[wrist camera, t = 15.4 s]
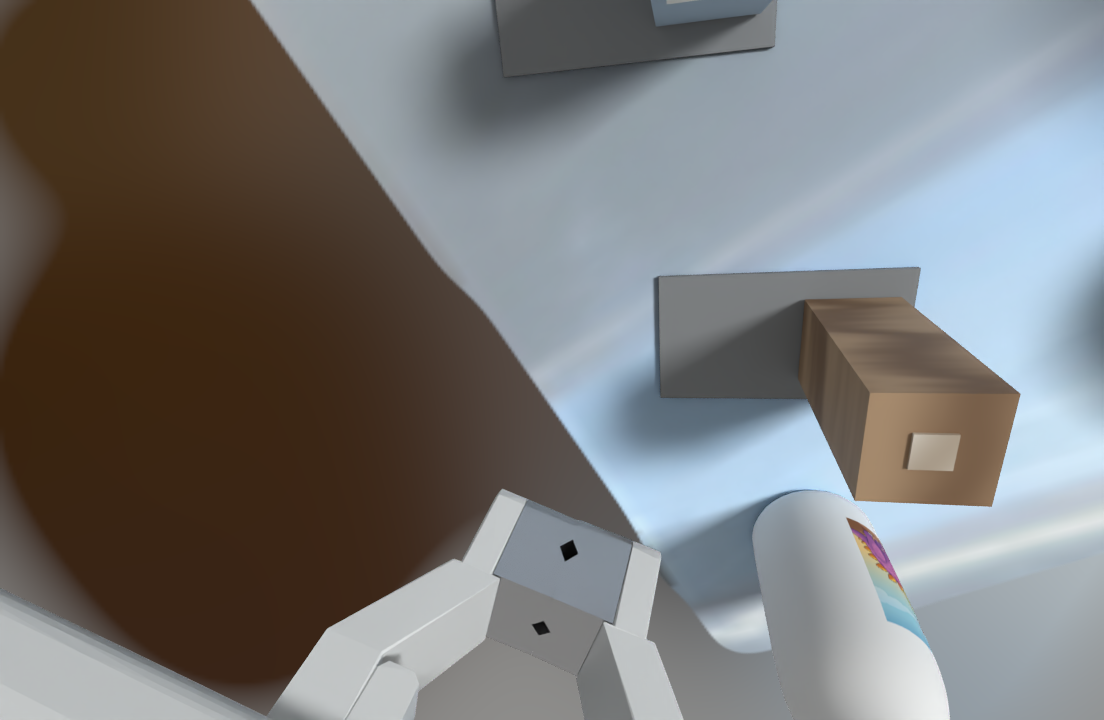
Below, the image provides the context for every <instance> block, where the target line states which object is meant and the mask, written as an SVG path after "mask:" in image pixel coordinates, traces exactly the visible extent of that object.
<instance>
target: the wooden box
mask: <svg viewBox="0 0 1104 720" xmlns="http://www.w3.org/2000/svg"><path fill="white" fill-rule="evenodd" d="M798 380H799V382H800V384H801V387H802V389H803V391H804V393H805V395H806V397H807V399H808V402H809V404H810V406H811V408H812V410H813V412H814V414H815V417H816V419H817V421H818V423H819V425H820V427H821V429H822V432H823V434H824V436H825V438H826V440H827V442H828V444H829V447H830V449H831V451H832V453H833V455H834V457H835V459H836V462H837V464H838V466H839V468H840V470H841V472H842V474H843V477H844V479H845V481H846V483H847V485H848V487H849V489H850V492H851V494H852V496H853V498H854V500H855V501H873V502H896V503H920V504H943V505H966V506H989V507H992V504H993V500H994V496H995V492H996V488H997V484H998V480H999V476H1000V472H1001V468H1002V464H1003V460H1004V456H1005V453H1006V449H1007V445H1008V441H1009V437H1010V433H1011V429H1012V425H1013V421H1014V417H1015V413H1016V409H1017V406H1018V402H1019V398H1020V393H1019V392H1018V391H1016V390H1015V389H1014V388H1013V387H1011V386H1010V385H1009V384H1008V383H1006V382H1005V381H1004V380H1003V379H1002V378H1000V377H999V376H998V375H997V374H995V373H994V372H993V371H992V370H990V369H989V368H988V367H987V366H986V365H984V364H983V363H982V362H981V361H979V360H978V359H977V358H976V357H975V356H973V355H972V354H971V353H970V352H968V351H967V350H966V349H965V348H963V347H962V346H961V345H960V344H959V343H957V342H956V341H955V340H954V339H952V338H951V337H950V336H949V335H947V334H946V333H945V332H944V331H943V330H941V329H940V328H939V327H938V326H936V325H935V324H934V323H933V322H932V321H930V320H929V319H928V318H927V317H925V316H924V315H923V314H922V313H920V312H919V311H918V310H917V309H916V308H914V307H913V306H912V305H911V304H909V303H908V302H907V301H906V300H904V299H903V298H902V297H884V298H844V299H805V302H804V314H803V325H802V337H801V348H800V360H799V371H798Z"/></svg>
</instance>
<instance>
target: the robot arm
mask: <svg viewBox="0 0 1104 720" xmlns="http://www.w3.org/2000/svg"><path fill="white" fill-rule="evenodd" d="M660 562H661V554H660V552H659V551H657V550H654V549H652V548H649V547H647V546H644V545H642V544H639V543H636V542H632V540H631V539H628V538H625V537H623V536H620V535H617V534H615V533H612V532H610V531H607V530H604V529H602V528H599V527H596V526H594V525H591V524H588V523H586V522H583V521H581V520H579V521H578V520H575V519H573V518H571V517H568V516H566V515H564V514H561V513H559V512H557V511H554V510H552V509H549V508H547V507H545V506H543V505H540V504H538V503H535V502H533V501H531V500H528V499H526V498H523V497H521V496H519V495H516V494H514V493H511V492H508V491H506V490H504V489H502V490H501V491H500V492H499V493H498V494H497V496H496V498H495V499H494V501H493V503H492V505H491V507H490V509H489V511H488V512H487V514H486V516H485V518H484V520H483V522H482V524H481V526H480V528H479V530H478V531H477V533H476V535H475V537H474V539H473V541H472V543H471V544H470V546H469V548H468V550H467V552H466V554H465V556H464V557H463V559H462V561H459V560H456V559H452V560H450V561H448V562H447V563H445V564H443V565H441V566H439V567H437V568H436V569H434V570H432V571H430V572H428V573H427V574H425V575H423V576H421V577H419V578H418V579H416V580H414V581H412V582H410V583H409V584H407V585H405V586H403V587H402V588H400V589H398V590H396V591H395V592H393V593H391V594H389V595H387V596H385V597H383V598H382V599H380V600H378V601H376V602H375V603H373V604H371V605H369V606H367V607H366V608H364V609H362V610H360V611H358V612H357V613H355V614H353V615H351V616H349V617H348V618H346V619H344V620H342V621H340V622H339V623H337V624H335V625H333V626H332V627H330V628H328V629H327V630H326V631H325V633H324V634H323V636H322V637H321V638H320V640H319V641H318V643H317V644H316V646H315V647H314V649H313V650H312V652H311V653H310V655H309V656H308V658H307V659H306V660H305V662H304V663H303V665H302V666H301V668H300V669H299V670H298V672H297V673H296V675H295V676H294V678H293V679H292V680H291V682H290V683H289V685H288V686H287V688H286V689H285V691H284V692H283V693H282V695H281V697H280V698H279V699H278V701H277V702H276V703H275V705H274V706H273V708H272V709H271V711H270V712H269V714H268V715H267V716H264V715H262V714H260V713H258V712H256V711H254V710H252V709H250V708H247V707H245V706H243V705H241V704H239V703H237V702H235V701H233V700H231V699H229V698H227V697H225V696H223V695H220V694H219V693H216V692H214V691H212V690H210V689H208V688H206V687H204V686H202V685H200V684H198V683H196V682H194V681H192V680H190V679H188V678H185V677H183V676H181V675H179V674H177V673H175V672H173V671H171V670H169V669H167V668H165V667H163V666H161V665H159V664H157V663H154V662H152V661H150V660H148V659H146V658H144V657H142V656H140V655H138V654H136V653H134V652H132V651H130V650H128V649H126V648H124V647H122V646H119V645H117V644H115V643H113V642H111V641H109V640H107V639H105V638H103V637H101V636H99V635H97V634H95V633H92V632H91V631H88V630H86V629H84V628H82V627H80V626H78V625H76V624H74V623H72V622H70V621H68V620H66V619H64V618H62V617H60V616H57V615H55V614H53V613H51V612H49V611H47V610H45V609H43V608H41V607H39V606H37V605H35V604H32V603H31V602H28V601H26V600H24V599H22V598H20V597H18V596H16V595H14V594H12V593H10V592H8V591H6V590H4V589H2V588H0V720H414V719H415V712H416V704H417V697H418V691H419V690H421V689H422V688H423V687H425V686H426V685H427V684H428V683H430V682H431V681H432V680H434V679H435V678H436V677H437V676H439V675H440V674H441V673H443V672H444V671H445V670H446V669H448V668H449V667H450V666H452V665H453V664H454V663H455V662H457V661H458V660H459V659H461V658H462V657H463V656H465V655H466V654H467V653H468V652H470V651H471V650H472V649H474V648H475V647H476V646H477V645H479V644H480V643H481V642H482V641H484V640H485V637H488V638H490V639H493V640H496V641H498V642H500V643H503V644H505V645H508V646H510V647H513V648H515V649H518V650H520V651H523V652H525V653H528V654H530V655H531V654H532V656H534V657H537V658H539V659H541V660H543V661H545V662H547V663H550V664H552V665H554V666H556V667H558V668H560V669H562V670H564V671H567V672H569V673H571V674H573V675H575V676H577V678H576V680H577V685H578V690H579V695H580V700H581V704H582V710H583V715H584V720H683V717H682V714H681V711H680V709H679V706H678V703H677V701H676V698H675V696H674V693H673V690H672V687H671V685H670V682H669V679H668V677H667V674H666V671H665V669H664V666H663V663H662V661H661V658H660V655H659V653H658V650H657V647H656V645H655V643H654V642H651V641H649V640H647V639H646V638H647V633H648V627H649V622H650V617H651V611H652V606H653V600H654V595H655V589H656V584H657V579H658V573H659V568H660Z"/></svg>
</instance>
